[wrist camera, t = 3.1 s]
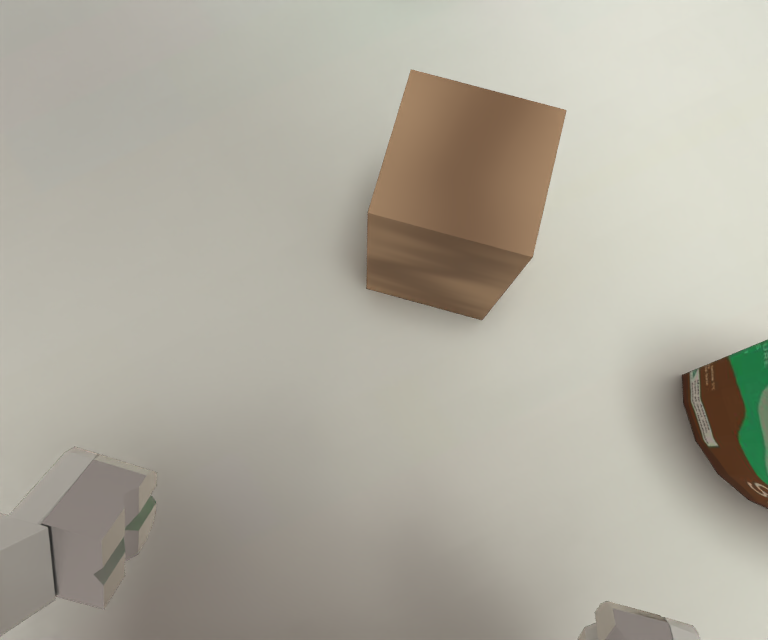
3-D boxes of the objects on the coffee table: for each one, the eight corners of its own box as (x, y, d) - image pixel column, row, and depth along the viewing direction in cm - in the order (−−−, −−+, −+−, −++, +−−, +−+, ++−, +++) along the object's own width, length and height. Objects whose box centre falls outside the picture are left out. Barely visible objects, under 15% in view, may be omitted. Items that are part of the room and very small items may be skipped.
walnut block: (366, 288, 26) (367, 212, 18) (397, 183, 27) (411, 69, 20) (481, 320, 26) (532, 257, 18) (508, 212, 27) (566, 110, 19)
